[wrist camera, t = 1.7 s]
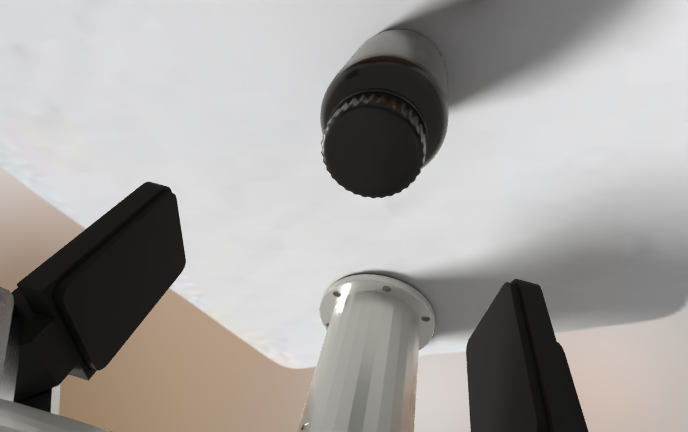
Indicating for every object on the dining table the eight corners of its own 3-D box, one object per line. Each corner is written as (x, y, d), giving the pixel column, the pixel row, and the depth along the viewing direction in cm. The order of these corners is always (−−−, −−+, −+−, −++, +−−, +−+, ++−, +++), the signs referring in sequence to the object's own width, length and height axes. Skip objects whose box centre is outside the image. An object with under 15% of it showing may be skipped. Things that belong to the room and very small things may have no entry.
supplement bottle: (426, 137, 28) (418, 232, 19) (341, 111, 28) (290, 192, 19) (462, 43, 24) (476, 104, 14) (362, 14, 24) (311, 55, 15)
